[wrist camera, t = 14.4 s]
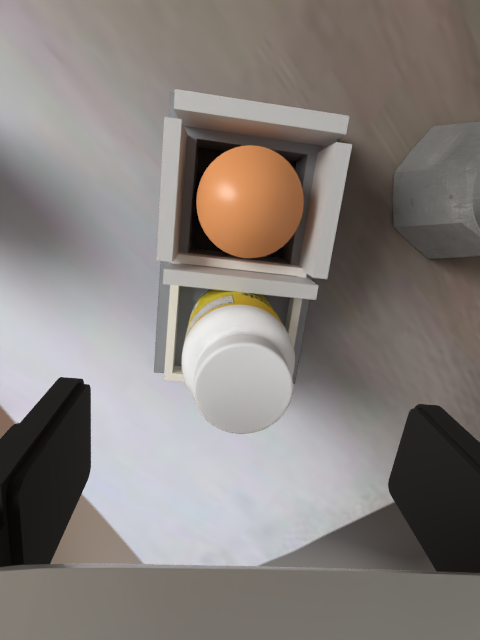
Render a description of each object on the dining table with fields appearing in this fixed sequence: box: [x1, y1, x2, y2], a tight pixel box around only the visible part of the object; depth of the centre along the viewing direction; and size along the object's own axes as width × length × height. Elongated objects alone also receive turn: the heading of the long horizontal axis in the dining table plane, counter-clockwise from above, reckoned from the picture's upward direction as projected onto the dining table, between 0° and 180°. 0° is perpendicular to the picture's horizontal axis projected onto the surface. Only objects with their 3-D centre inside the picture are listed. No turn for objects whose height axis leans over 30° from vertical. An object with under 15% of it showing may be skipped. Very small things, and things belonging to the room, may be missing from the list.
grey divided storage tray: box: [154, 89, 352, 384], centre depth 22 cm, size 17×10×6 cm, turn 173°
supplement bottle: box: [182, 289, 295, 434], centre depth 19 cm, size 5×5×10 cm
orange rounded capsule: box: [196, 145, 304, 258], centre depth 22 cm, size 6×6×5 cm
